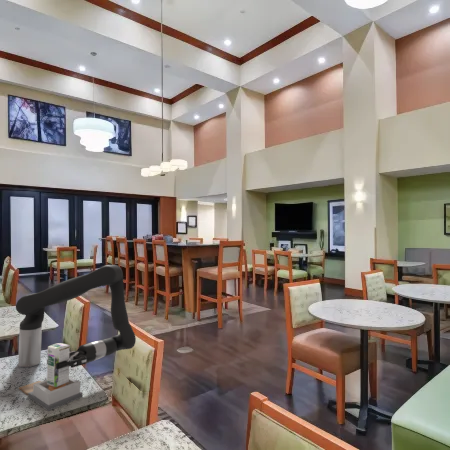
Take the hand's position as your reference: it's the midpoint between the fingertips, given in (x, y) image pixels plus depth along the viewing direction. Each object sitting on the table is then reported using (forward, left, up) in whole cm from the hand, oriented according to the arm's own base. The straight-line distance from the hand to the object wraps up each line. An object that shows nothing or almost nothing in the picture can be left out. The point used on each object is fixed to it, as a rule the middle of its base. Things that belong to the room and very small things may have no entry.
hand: (51, 364), depth 125 cm
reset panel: (-1, +2, -13) cm, 14 cm away
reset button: (0, +2, -11) cm, 12 cm away
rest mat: (-15, 0, -13) cm, 20 cm away
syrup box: (0, +3, -8) cm, 9 cm away
